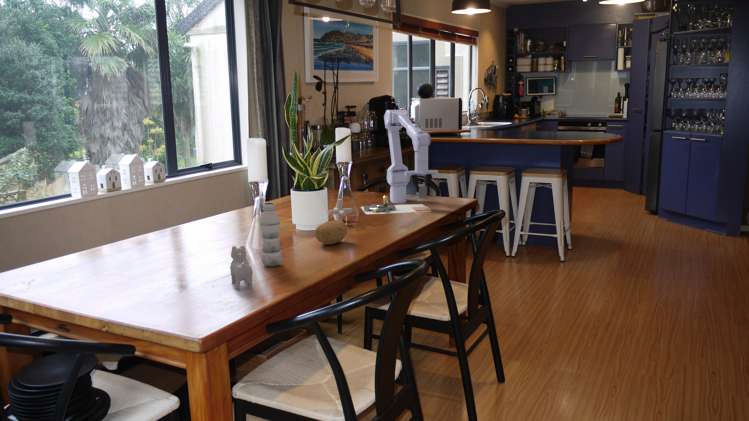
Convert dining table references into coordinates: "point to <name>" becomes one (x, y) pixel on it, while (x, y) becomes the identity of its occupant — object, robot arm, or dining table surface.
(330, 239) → the potato
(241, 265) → the dog figurine
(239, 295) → the dining table surface
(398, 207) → the board
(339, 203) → the pipe connector
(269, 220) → the grey tiered tower
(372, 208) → the sprocket
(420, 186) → the grey rectangular block
